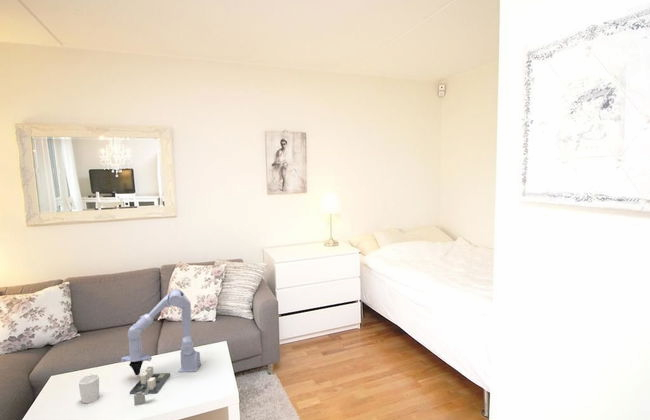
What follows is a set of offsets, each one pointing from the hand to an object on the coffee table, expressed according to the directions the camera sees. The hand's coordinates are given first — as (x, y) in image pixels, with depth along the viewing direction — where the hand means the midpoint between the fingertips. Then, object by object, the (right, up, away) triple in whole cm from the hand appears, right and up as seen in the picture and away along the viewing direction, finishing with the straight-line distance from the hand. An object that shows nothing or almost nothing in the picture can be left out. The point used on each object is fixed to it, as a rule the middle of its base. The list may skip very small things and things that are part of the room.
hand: (137, 374), depth 173 cm
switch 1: (+6, -2, -5) cm, 8 cm away
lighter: (+13, -4, -18) cm, 23 cm away
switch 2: (+6, -1, 0) cm, 6 cm away
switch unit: (+9, -3, -5) cm, 11 cm away
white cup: (-14, -5, -15) cm, 21 cm away
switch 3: (+12, -2, -10) cm, 16 cm away
